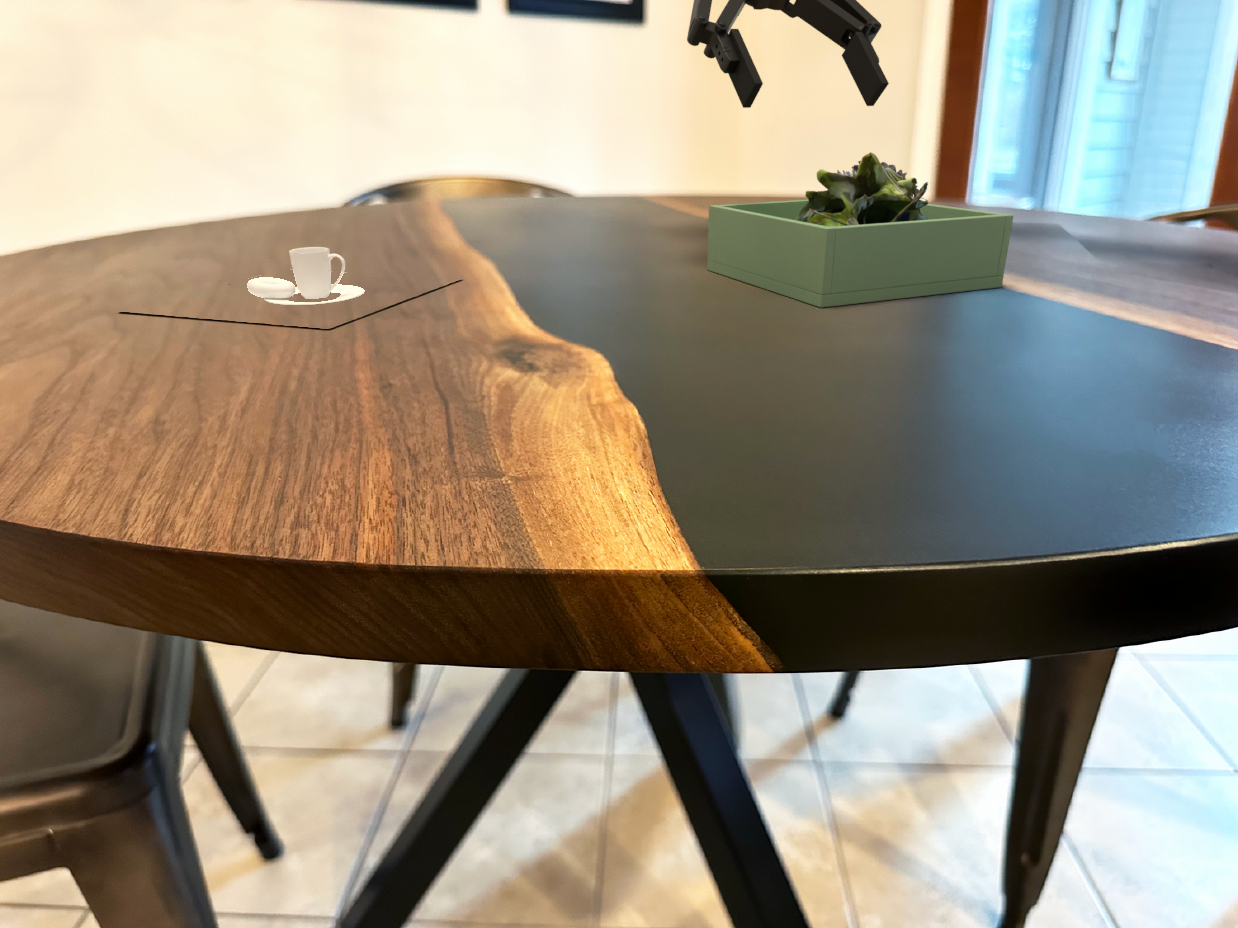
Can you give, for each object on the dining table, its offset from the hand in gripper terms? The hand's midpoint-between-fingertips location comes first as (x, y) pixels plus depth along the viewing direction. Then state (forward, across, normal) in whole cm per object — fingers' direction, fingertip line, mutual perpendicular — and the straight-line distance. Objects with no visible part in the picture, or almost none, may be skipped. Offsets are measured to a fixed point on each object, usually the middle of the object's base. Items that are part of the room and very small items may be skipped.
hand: (817, 96), depth 76 cm
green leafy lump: (+16, 0, -5) cm, 16 cm away
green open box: (+16, 0, -6) cm, 17 cm away
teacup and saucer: (+6, +46, -16) cm, 49 cm away
